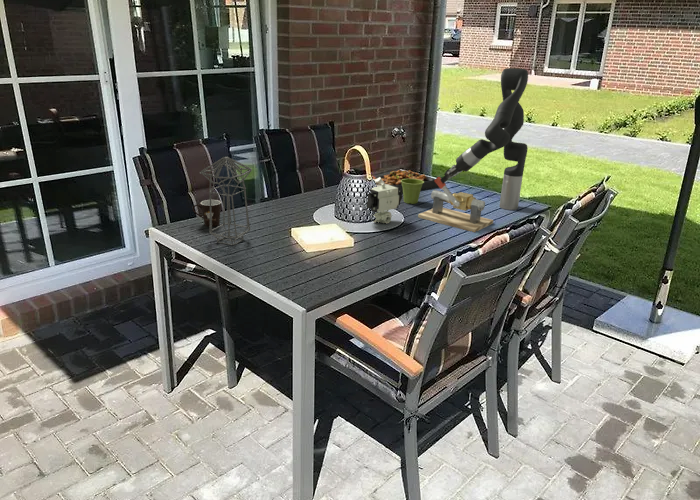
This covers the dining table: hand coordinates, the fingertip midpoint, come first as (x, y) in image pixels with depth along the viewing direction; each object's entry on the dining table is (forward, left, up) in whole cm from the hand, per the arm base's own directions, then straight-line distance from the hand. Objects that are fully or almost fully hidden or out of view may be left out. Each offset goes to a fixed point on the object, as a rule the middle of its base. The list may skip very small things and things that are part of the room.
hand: (442, 181), depth 251 cm
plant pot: (-16, -26, -19) cm, 36 cm away
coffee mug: (+78, -70, -19) cm, 107 cm away
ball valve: (+21, -17, -19) cm, 33 cm away
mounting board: (-6, +6, -19) cm, 21 cm away
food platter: (-37, -50, -20) cm, 65 cm away
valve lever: (0, +10, -10) cm, 14 cm away
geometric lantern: (+86, -46, -19) cm, 100 cm away
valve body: (-5, +6, -17) cm, 19 cm away
